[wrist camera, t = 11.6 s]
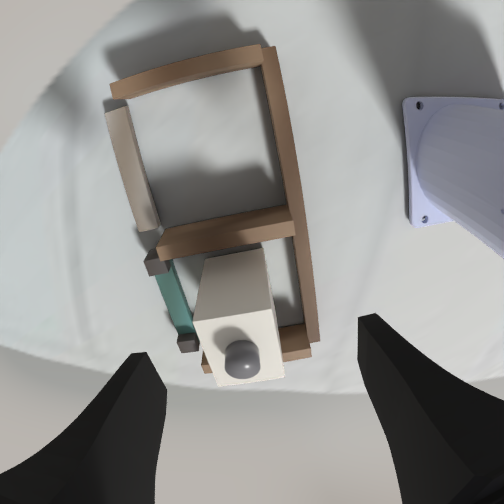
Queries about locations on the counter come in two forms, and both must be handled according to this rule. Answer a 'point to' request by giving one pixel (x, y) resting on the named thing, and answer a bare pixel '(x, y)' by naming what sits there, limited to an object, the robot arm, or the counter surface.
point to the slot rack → (224, 228)
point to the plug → (238, 319)
